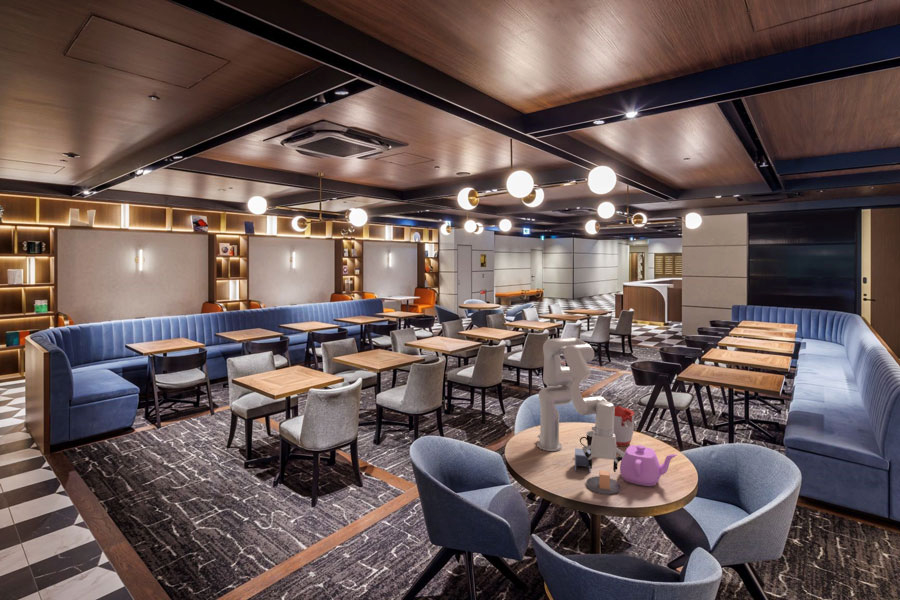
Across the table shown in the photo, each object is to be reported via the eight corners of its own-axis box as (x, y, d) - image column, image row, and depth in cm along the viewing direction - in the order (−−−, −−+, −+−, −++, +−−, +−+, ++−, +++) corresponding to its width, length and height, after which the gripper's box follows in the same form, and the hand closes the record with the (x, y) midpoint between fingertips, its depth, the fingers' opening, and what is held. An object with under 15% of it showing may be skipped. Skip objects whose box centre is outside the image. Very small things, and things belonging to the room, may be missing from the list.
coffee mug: (603, 450, 229) (604, 431, 229) (603, 457, 221) (604, 438, 220) (580, 447, 233) (580, 429, 232) (579, 454, 225) (579, 435, 224)
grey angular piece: (574, 464, 214) (575, 448, 214) (590, 466, 212) (590, 449, 212) (574, 471, 208) (574, 454, 207) (590, 472, 206) (590, 456, 205)
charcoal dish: (579, 482, 197) (579, 480, 197) (604, 476, 202) (604, 474, 202) (602, 497, 184) (602, 495, 184) (627, 490, 190) (628, 488, 190)
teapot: (615, 487, 193) (616, 453, 191) (622, 467, 211) (623, 436, 210) (675, 500, 182) (676, 464, 181) (676, 478, 200) (678, 445, 199)
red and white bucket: (615, 450, 230) (616, 412, 228) (597, 437, 246) (597, 402, 245) (642, 447, 233) (643, 410, 231) (622, 435, 250) (623, 400, 248)
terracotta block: (599, 483, 194) (599, 470, 193) (609, 484, 192) (609, 471, 192) (599, 488, 190) (599, 474, 189) (609, 489, 189) (609, 475, 188)
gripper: (583, 431, 190) (581, 470, 192) (626, 436, 185) (624, 476, 187) (583, 425, 197) (581, 462, 199) (625, 429, 193) (623, 467, 194)
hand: (602, 468), depth 193 cm, fingers open, 9 cm apart
